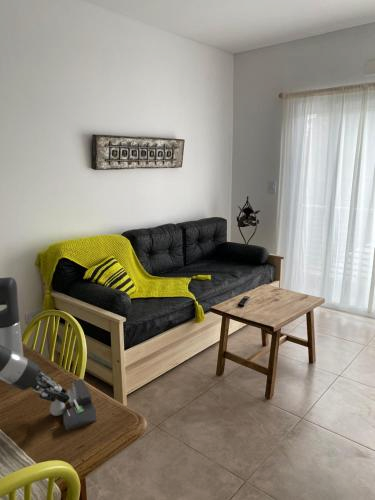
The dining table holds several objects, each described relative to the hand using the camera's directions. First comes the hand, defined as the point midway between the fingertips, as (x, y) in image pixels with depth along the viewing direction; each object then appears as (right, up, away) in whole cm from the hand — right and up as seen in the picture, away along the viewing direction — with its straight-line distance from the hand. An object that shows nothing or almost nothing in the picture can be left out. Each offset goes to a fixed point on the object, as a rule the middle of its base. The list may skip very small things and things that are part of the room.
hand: (65, 396), depth 114 cm
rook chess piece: (-2, -4, 0) cm, 5 cm away
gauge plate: (+3, -4, 0) cm, 5 cm away
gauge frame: (+3, -5, +1) cm, 6 cm away
